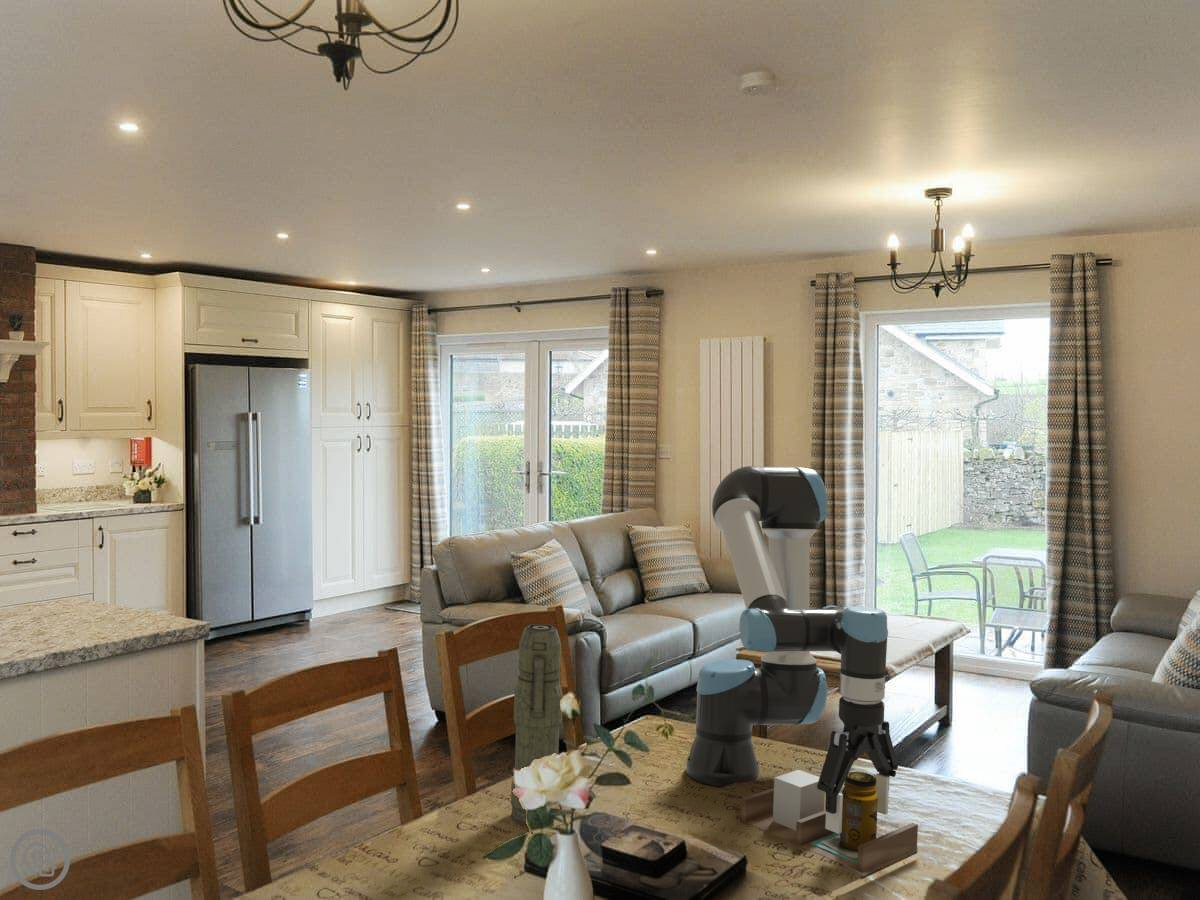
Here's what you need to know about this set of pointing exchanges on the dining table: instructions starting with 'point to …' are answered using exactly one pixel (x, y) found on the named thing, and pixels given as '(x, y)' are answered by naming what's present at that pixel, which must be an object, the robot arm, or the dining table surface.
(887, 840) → the rack
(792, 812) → the block
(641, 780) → the dining table surface
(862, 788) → the condiment
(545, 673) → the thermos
